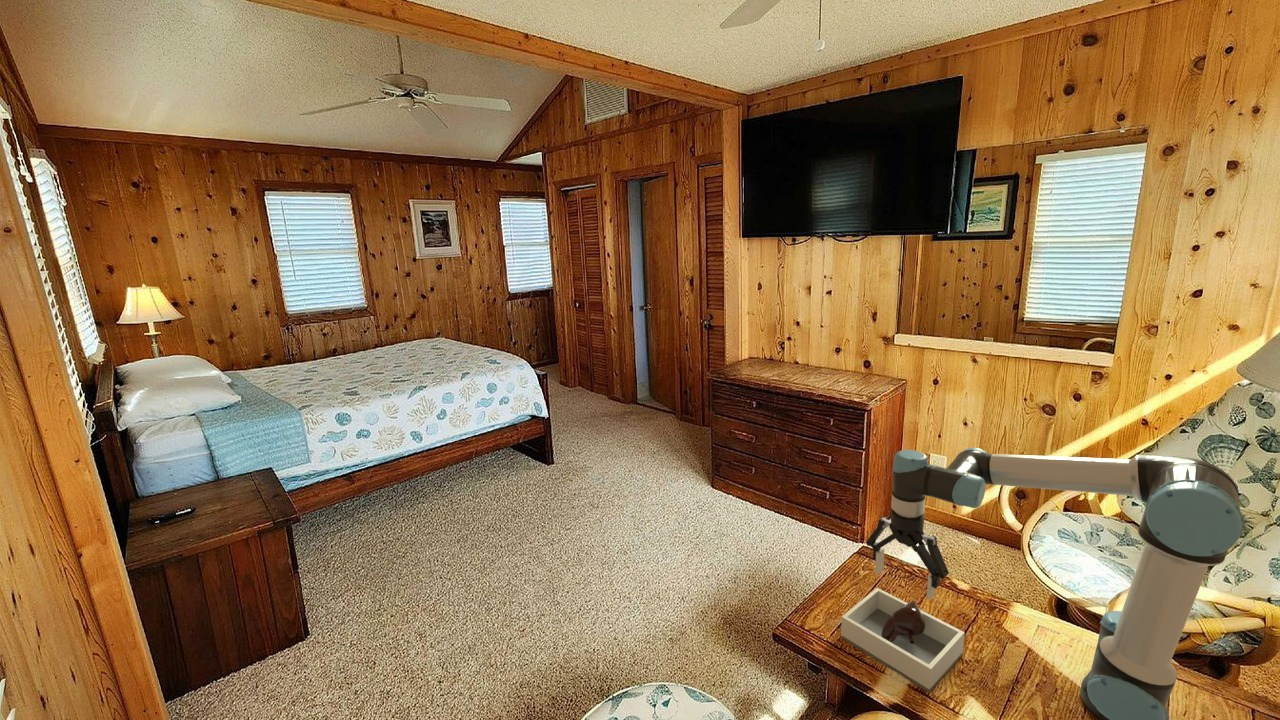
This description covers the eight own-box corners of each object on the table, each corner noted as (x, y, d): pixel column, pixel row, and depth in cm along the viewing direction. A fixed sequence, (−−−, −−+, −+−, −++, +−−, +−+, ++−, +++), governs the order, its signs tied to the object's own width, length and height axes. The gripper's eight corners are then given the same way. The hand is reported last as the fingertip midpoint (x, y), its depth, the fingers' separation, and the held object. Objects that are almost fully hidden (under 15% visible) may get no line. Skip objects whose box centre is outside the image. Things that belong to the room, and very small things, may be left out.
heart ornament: (925, 616, 149) (931, 638, 139) (882, 628, 153) (886, 651, 143) (913, 594, 149) (919, 615, 139) (871, 607, 153) (874, 629, 143)
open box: (962, 654, 141) (964, 632, 140) (929, 692, 131) (931, 669, 129) (876, 607, 160) (876, 587, 158) (841, 638, 150) (841, 616, 148)
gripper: (967, 524, 128) (961, 600, 133) (869, 488, 147) (867, 556, 153) (953, 536, 124) (947, 615, 129) (853, 498, 143) (852, 568, 148)
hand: (904, 583), depth 141 cm, fingers open, 13 cm apart
